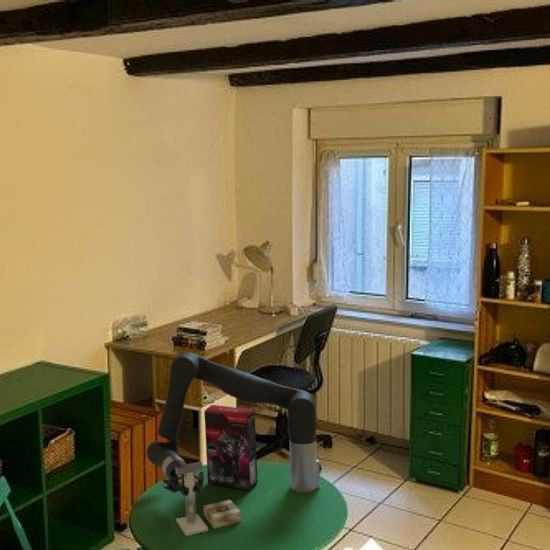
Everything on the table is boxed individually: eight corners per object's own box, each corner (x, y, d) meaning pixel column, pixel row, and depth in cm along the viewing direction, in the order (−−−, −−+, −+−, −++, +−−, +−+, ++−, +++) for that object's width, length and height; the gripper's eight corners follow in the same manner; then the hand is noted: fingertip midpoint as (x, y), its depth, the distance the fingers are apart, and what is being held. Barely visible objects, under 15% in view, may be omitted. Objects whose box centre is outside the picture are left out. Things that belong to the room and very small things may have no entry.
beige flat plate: (197, 516, 228) (197, 513, 228) (208, 530, 219) (207, 527, 219) (176, 521, 225) (176, 518, 225) (186, 536, 216) (186, 533, 216)
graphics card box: (206, 484, 251) (202, 410, 247) (215, 476, 257) (212, 403, 253) (250, 491, 245) (247, 415, 240) (258, 483, 251) (256, 408, 247)
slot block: (230, 509, 232) (230, 499, 232) (240, 521, 224) (240, 511, 224) (204, 516, 229) (203, 505, 228) (213, 528, 220) (213, 518, 220)
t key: (201, 514, 225) (199, 460, 222) (205, 519, 222) (203, 464, 219) (177, 520, 222) (174, 465, 219) (180, 525, 219) (177, 469, 216)
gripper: (154, 463, 230) (170, 485, 214) (196, 455, 235) (214, 475, 220) (155, 485, 231) (171, 508, 215) (197, 476, 237) (215, 498, 221)
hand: (192, 491), depth 218 cm, fingers closed on t key, 3 cm apart
